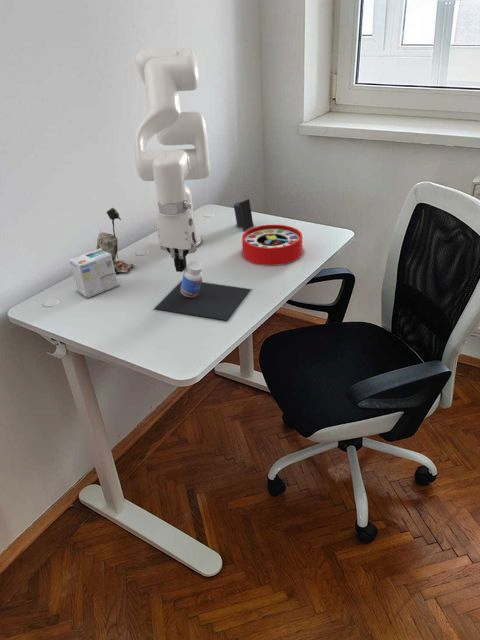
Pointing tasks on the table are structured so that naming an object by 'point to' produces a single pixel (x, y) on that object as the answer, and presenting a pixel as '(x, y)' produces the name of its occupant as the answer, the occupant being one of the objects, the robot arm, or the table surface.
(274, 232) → the toy clock
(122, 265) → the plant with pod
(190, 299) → the desk mat
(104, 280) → the light bulb box
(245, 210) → the speaker
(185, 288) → the pill bottle
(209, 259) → the table surface
